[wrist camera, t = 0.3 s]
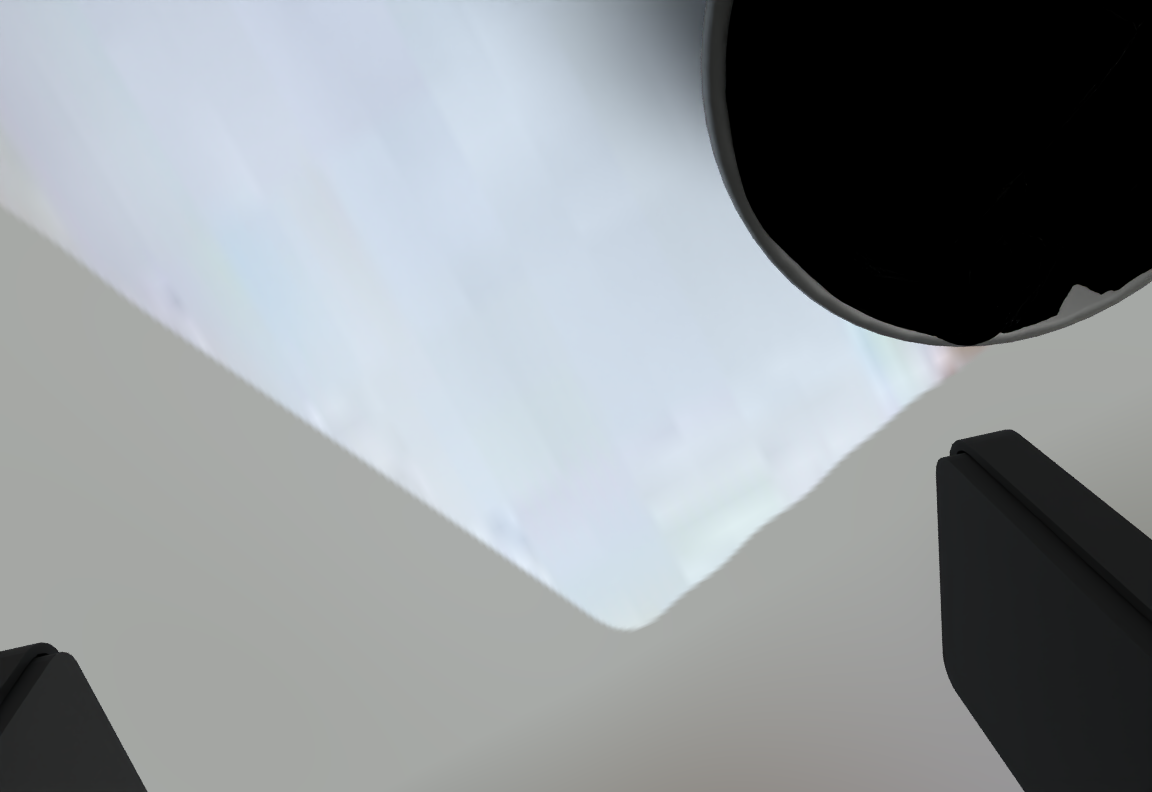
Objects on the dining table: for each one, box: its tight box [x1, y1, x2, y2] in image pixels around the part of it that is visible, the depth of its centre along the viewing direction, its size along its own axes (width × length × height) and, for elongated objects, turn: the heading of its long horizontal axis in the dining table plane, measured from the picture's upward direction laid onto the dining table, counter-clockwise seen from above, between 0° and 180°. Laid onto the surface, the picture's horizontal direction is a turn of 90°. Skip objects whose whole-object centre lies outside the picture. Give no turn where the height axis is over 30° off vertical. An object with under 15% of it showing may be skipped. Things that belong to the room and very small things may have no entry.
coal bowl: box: [701, 0, 1152, 347], centre depth 28 cm, size 20×20×19 cm
